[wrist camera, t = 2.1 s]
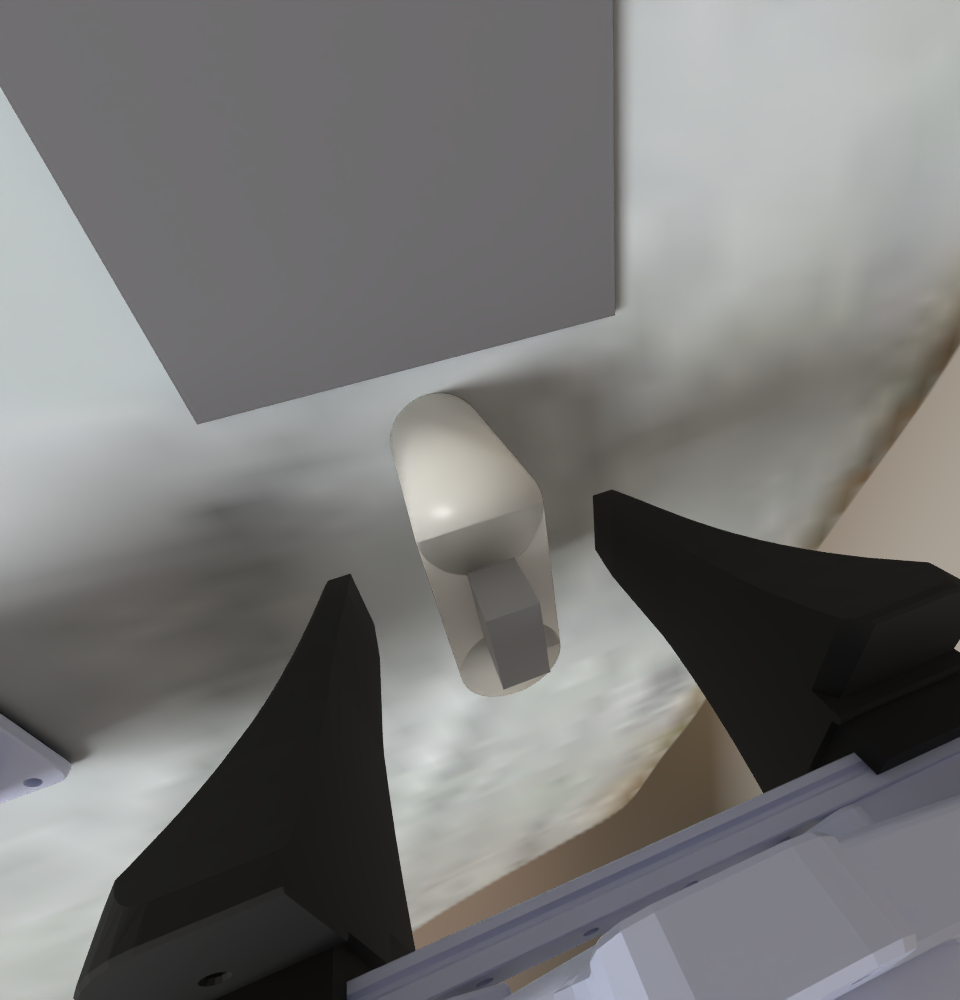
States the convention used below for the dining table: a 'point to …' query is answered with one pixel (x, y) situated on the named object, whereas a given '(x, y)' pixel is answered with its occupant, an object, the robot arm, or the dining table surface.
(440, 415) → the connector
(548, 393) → the dining table surface
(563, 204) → the mat
